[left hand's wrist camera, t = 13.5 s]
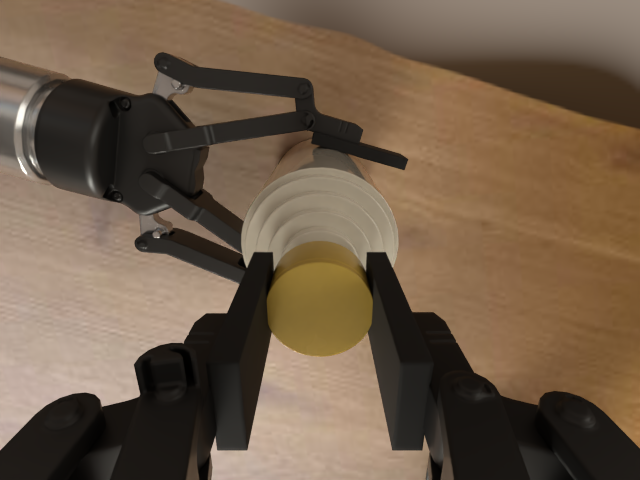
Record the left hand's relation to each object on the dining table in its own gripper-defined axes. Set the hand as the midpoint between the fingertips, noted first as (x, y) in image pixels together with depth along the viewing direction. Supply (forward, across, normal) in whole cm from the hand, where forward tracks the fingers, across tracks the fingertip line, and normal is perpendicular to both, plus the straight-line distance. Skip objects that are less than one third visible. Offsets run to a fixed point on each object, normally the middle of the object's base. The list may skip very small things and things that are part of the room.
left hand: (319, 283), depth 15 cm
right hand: (+13, -5, +1) cm, 14 cm away
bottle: (+19, 0, 0) cm, 19 cm away
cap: (-2, 0, 0) cm, 2 cm away
